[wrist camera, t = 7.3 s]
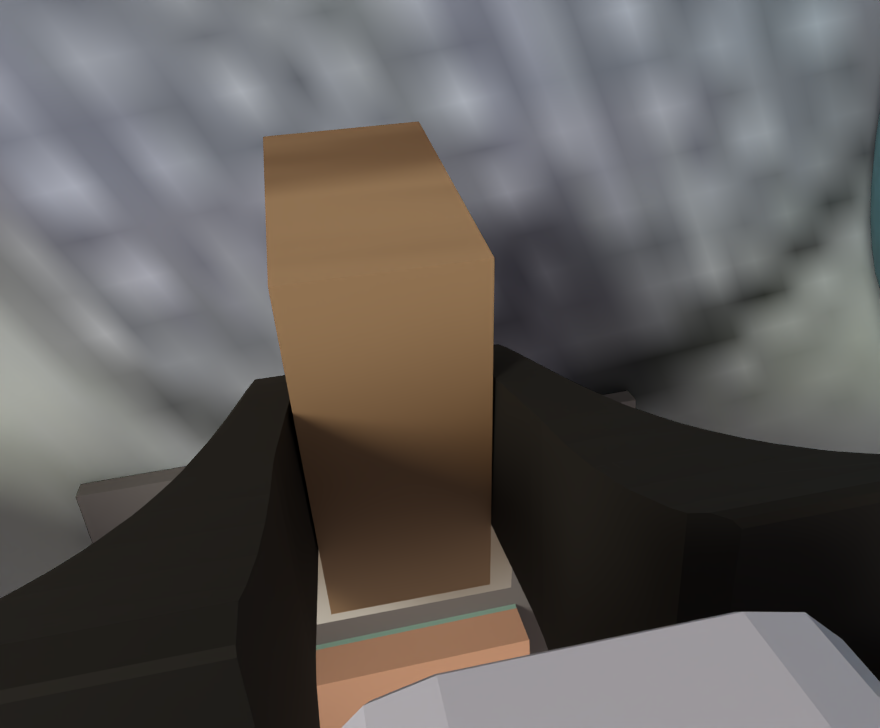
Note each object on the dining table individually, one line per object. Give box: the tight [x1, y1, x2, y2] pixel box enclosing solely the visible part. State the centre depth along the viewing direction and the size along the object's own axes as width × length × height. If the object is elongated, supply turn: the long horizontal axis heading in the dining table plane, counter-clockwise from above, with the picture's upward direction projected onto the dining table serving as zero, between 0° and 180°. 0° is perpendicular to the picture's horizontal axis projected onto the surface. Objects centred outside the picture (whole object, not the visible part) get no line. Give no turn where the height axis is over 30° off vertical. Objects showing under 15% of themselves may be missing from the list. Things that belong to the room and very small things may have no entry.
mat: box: [76, 391, 636, 654], centre depth 26 cm, size 16×18×1 cm
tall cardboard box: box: [263, 122, 512, 625], centre depth 14 cm, size 12×6×5 cm, turn 4°
